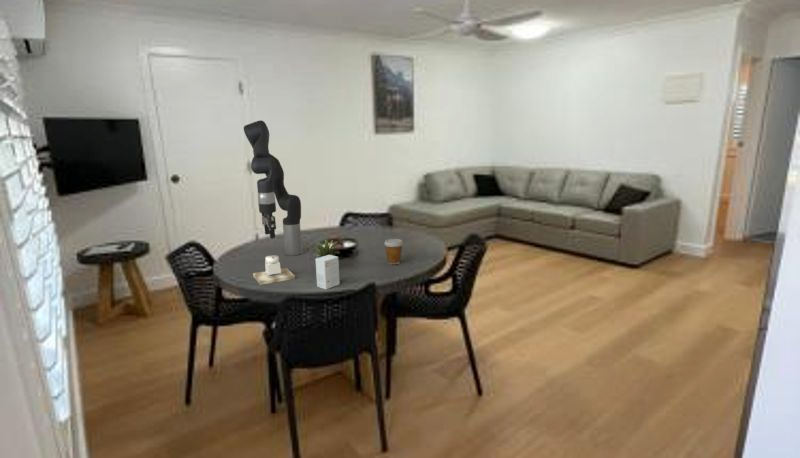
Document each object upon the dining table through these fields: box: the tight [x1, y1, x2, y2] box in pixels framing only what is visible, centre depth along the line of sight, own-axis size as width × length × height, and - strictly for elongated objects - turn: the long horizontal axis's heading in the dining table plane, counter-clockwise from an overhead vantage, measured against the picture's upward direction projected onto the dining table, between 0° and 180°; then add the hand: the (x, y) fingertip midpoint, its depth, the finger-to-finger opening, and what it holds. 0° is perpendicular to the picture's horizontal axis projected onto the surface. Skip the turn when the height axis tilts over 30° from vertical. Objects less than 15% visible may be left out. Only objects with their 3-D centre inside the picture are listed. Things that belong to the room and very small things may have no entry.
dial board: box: [252, 267, 296, 286], centre depth 209 cm, size 16×14×8 cm
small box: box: [315, 254, 340, 290], centre depth 196 cm, size 8×6×13 cm
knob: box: [264, 254, 282, 275], centre depth 208 cm, size 6×6×8 cm
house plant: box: [315, 238, 341, 258], centre depth 214 cm, size 14×14×16 cm
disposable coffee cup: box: [383, 238, 404, 263], centre depth 228 cm, size 10×10×12 cm
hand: (270, 236), depth 208 cm, fingers open, 8 cm apart
